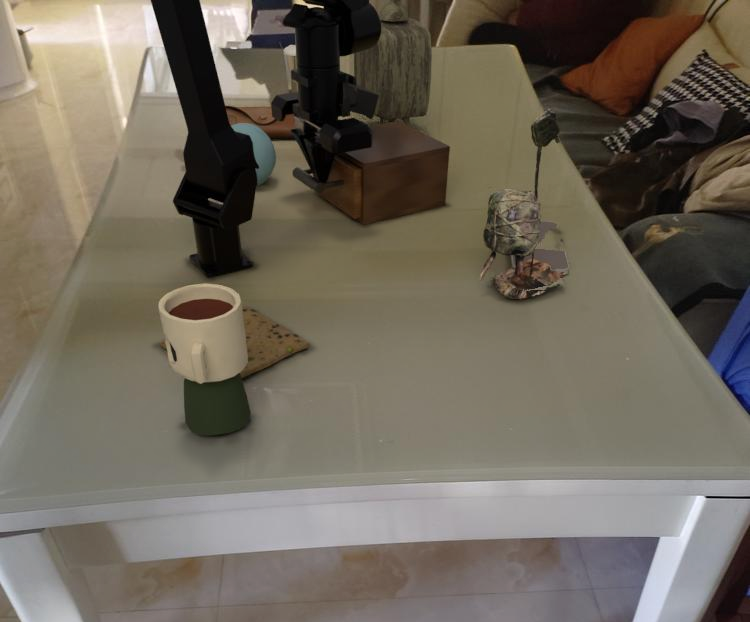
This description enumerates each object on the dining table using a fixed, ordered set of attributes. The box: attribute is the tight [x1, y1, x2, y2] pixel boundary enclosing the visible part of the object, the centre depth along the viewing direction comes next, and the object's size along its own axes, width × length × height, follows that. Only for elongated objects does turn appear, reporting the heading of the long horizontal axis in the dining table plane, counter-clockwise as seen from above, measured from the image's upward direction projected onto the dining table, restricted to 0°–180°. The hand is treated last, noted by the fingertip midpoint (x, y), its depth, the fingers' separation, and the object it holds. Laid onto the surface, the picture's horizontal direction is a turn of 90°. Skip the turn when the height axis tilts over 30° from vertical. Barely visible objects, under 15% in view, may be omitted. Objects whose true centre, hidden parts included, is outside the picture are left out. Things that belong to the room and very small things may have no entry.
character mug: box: [158, 282, 252, 436], centre depth 69 cm, size 11×7×13 cm, turn 3°
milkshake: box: [278, 41, 298, 93], centre depth 152 cm, size 4×5×10 cm
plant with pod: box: [478, 108, 564, 300], centre depth 88 cm, size 8×11×20 cm
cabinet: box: [339, 120, 451, 226], centre depth 113 cm, size 15×14×9 cm
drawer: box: [292, 154, 361, 220], centre depth 111 cm, size 18×12×7 cm
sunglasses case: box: [225, 105, 296, 141], centre depth 137 cm, size 18×7×7 cm
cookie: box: [159, 305, 309, 379], centre depth 83 cm, size 12×12×1 cm
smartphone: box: [509, 220, 570, 276], centre depth 103 cm, size 7×1×15 cm
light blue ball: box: [231, 123, 277, 187], centre depth 117 cm, size 7×9×12 cm
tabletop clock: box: [353, 0, 433, 128], centre depth 130 cm, size 14×9×25 cm, turn 22°
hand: (321, 184), depth 109 cm, fingers closed, pressing on drawer
